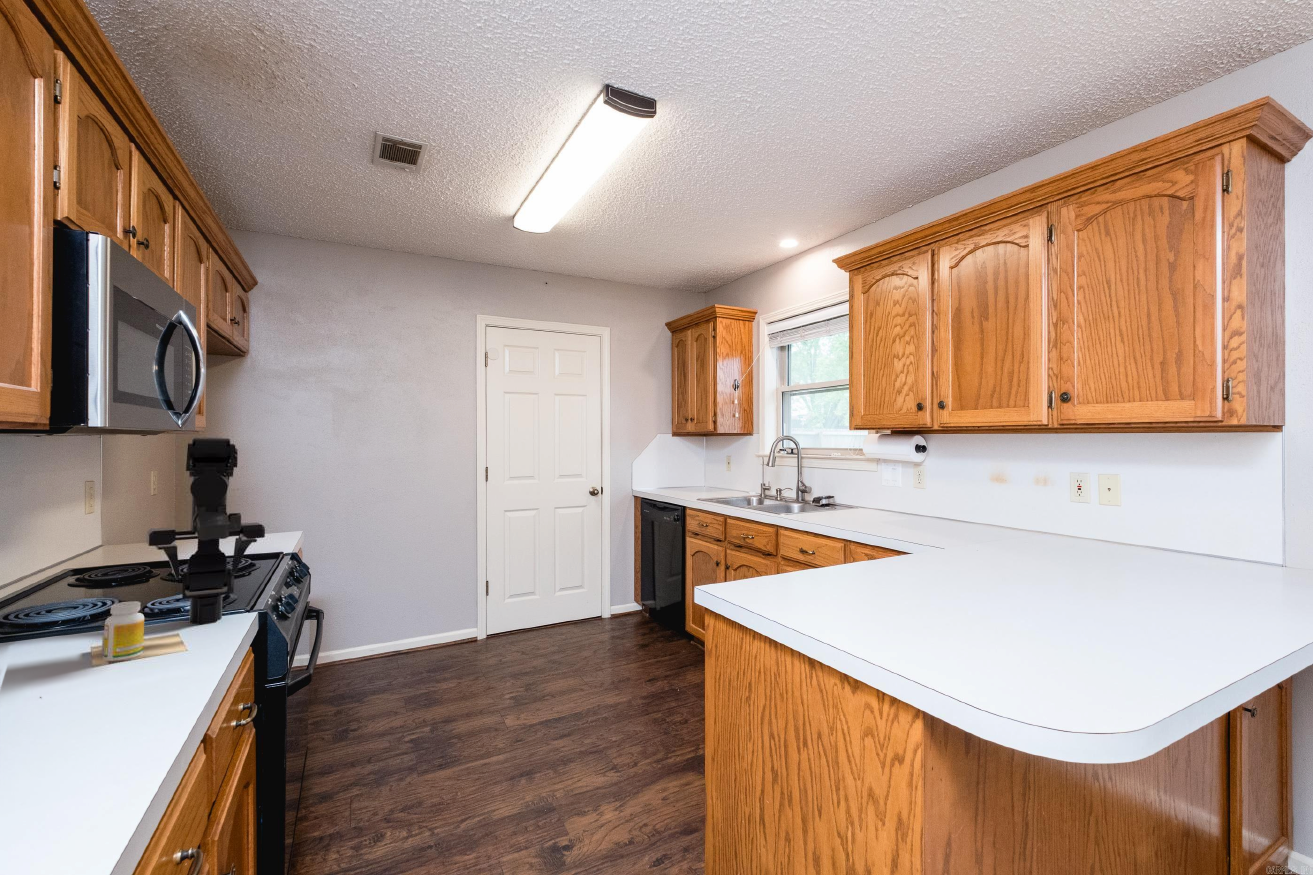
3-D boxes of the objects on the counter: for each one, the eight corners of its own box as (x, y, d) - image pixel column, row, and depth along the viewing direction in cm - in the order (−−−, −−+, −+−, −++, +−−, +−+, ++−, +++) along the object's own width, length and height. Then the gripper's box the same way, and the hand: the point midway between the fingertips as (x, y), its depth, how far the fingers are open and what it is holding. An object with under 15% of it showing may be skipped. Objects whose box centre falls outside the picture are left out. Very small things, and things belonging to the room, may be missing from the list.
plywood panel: (90, 651, 112) (91, 646, 112) (178, 636, 121) (178, 633, 121) (92, 671, 102) (92, 666, 102) (187, 654, 111) (187, 650, 111)
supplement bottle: (94, 661, 105) (96, 607, 105) (122, 651, 110) (124, 599, 110) (124, 662, 105) (126, 608, 105) (150, 652, 110) (152, 600, 110)
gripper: (153, 504, 108) (149, 590, 108) (272, 499, 121) (269, 576, 121) (147, 500, 116) (144, 579, 115) (260, 496, 129) (257, 568, 129)
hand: (206, 576), depth 120 cm, fingers open, 9 cm apart
